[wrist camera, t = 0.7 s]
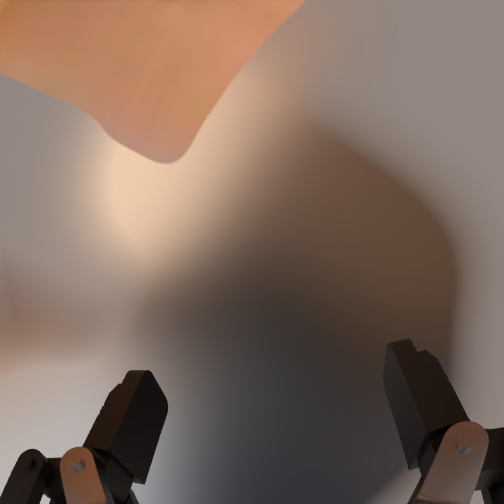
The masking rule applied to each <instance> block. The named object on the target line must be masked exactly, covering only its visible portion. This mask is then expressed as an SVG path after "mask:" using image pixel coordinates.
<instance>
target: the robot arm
mask: <svg viewBox="0 0 504 504" xmlns="http://www.w3.org/2000/svg"><path fill="white" fill-rule="evenodd" d="M383 383H384V389H385V393H386V396H387V399H388V402H389V405H390V408H391V411H392V414H393V417H394V421H395V424H396V427H397V430H398V433H399V437H400V440H401V444H402V447H403V451H404V454H405V458H406V461H407V465H408V469H409V470H412V469H415V468H418V467H419V469H420V472H421V478H420V480H419V482H418V484H417V486H416V488H415V490H414V492H413V493H412V495H411V497H410V499H409V501H408V503H407V504H469V503H470V500H471V498H472V495H473V493H474V491H476V490H481V492H482V496H483V500H484V504H504V427H503V428H496V429H484V428H483V427H482V426H481V425H479V424H478V423H475V422H471V421H470V419H469V418H468V416H467V415H466V413H465V411H464V409H463V406H462V404H461V402H460V400H459V398H458V396H457V395H456V393H455V391H454V389H453V387H452V385H451V383H450V382H449V379H448V378H447V376H446V374H445V373H444V371H443V368H442V367H441V365H440V363H439V361H438V360H437V358H436V357H434V356H433V355H431V354H430V353H429V352H428V351H426V350H424V351H420V352H417V351H416V349H415V347H414V345H413V343H412V341H411V340H410V339H404V340H400V341H396V342H391V343H387V345H386V353H385V364H384V373H383ZM167 412H168V402H167V399H166V397H165V395H164V393H163V391H162V390H161V388H160V387H159V384H158V383H157V381H156V379H155V377H154V376H153V374H152V372H151V371H149V370H130V371H128V372H127V374H126V376H125V378H124V380H123V382H122V384H118V385H117V386H116V387H115V388H114V389H113V390H112V391H111V392H110V393H109V395H108V397H107V399H106V401H105V403H104V406H102V409H101V410H100V414H98V416H97V418H96V420H95V422H94V424H93V426H92V428H91V430H90V432H89V434H88V436H87V438H86V440H85V443H84V444H83V446H82V447H75V448H72V449H70V450H68V451H67V452H66V453H65V454H64V455H63V457H62V458H46V457H45V456H44V455H43V454H42V453H41V452H40V451H38V450H36V449H29V450H26V451H25V452H23V453H22V454H21V455H20V457H19V458H18V461H17V462H16V464H15V466H14V468H13V470H12V472H11V475H10V477H9V479H8V481H7V483H6V486H5V488H4V490H3V492H2V495H1V497H0V504H40V501H41V498H42V496H43V494H45V495H46V496H47V497H48V498H50V499H51V500H50V503H49V504H139V503H138V501H137V499H136V496H135V494H134V492H133V490H132V489H131V486H132V483H133V482H134V483H139V484H145V482H146V479H147V475H148V472H149V469H150V466H151V462H152V459H153V456H154V453H155V450H156V447H157V444H158V440H159V437H160V434H161V431H162V428H163V425H164V422H165V419H166V416H167Z"/></svg>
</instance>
